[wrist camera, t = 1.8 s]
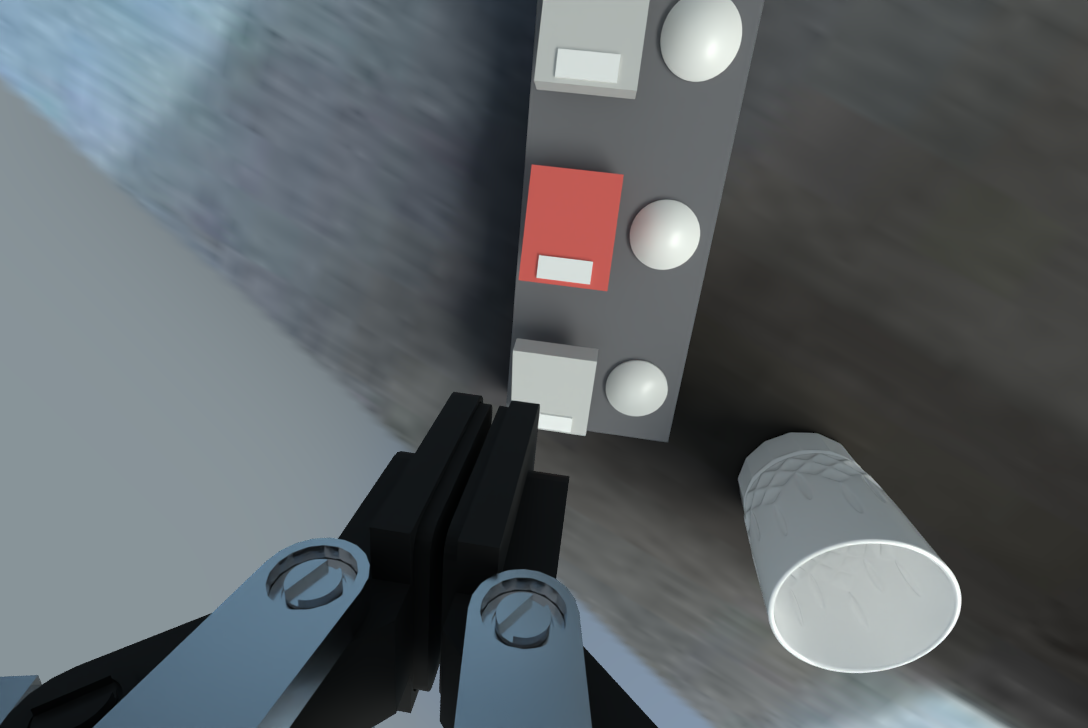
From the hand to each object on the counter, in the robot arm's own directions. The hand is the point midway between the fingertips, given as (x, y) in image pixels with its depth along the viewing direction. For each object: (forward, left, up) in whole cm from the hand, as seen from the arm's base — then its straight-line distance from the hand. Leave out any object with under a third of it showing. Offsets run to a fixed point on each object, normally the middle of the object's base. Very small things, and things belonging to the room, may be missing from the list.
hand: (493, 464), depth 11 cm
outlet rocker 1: (-10, 0, -16) cm, 19 cm away
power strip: (-4, +2, -21) cm, 21 cm away
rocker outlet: (+6, 0, -16) cm, 17 cm away
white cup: (+12, +15, -21) cm, 28 cm away
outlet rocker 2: (-2, 0, -16) cm, 16 cm away
